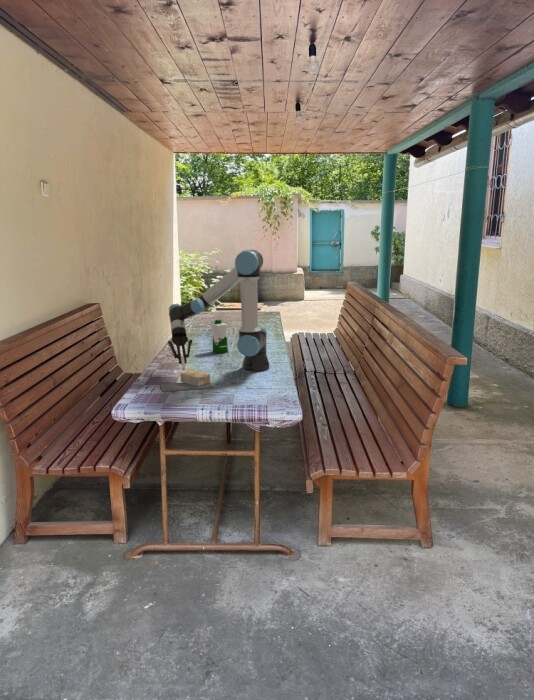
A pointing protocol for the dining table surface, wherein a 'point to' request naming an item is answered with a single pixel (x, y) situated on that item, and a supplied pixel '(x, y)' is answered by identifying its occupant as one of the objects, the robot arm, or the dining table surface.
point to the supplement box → (195, 378)
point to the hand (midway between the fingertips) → (183, 368)
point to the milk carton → (219, 337)
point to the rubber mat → (183, 387)
